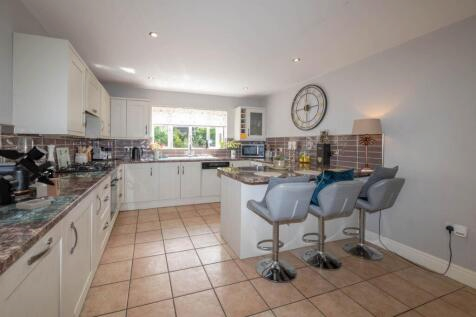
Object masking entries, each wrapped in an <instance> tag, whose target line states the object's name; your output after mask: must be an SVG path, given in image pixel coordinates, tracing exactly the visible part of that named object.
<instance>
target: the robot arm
mask: <svg viewBox="0 0 476 317" xmlns="http://www.w3.org/2000/svg"><path fill="white" fill-rule="evenodd" d="M47 154H48V151H46V149H43V148H42V147H39V146H38V145H34V146H32V148H31V149H30V150H29V151H25V150H24V149H21V148H20V149H19V148H18V149H17V148H16V149H14V148H12V149H11V148H10V149H9V148H7V149H5V148H0V157H1V158H4V159H7V160H11V161H15V160H19V161H15V162H14V163H15V164H14V167H15V168H16V167H20V166H21V167H23V168H24V169H25V170H27V173H28V174H29V173H31V175H30V176H29V177H28V181H29V182H30V183H32V182H35V180H36V179H37V178H38V180H37V181H36V182H40V183H44V185H47V184H48V185H52V186H54V185H55V184H54V183H53V182H52V181H51V180H50V178H56V176H55V173H56V172H57V170H56V169H55V168H54V166H56V164H55V163H56V162H55V161H53V160H47V161H45V162H44V163H38V162H36V161H40V160H42V158H44V157H45V156H46V155H47ZM51 167H52V168H51ZM19 186H20V181H19V180H18V178H17V177H13V176H12V175H10V174H8V175H1V174H0V206H8V205H12V204H14V203H17V202H18V201H17V200H16V194H15V192H16V191H17V188H19Z"/></svg>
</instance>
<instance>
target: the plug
mask: <svg viewBox="0 0 476 317" xmlns="http://www.w3.org/2000/svg"><path fill="white" fill-rule="evenodd" d="M50 180H51V181H52V182H53V183H54V184H55V185H54V186H52V185H48V184H46V185H47V196H46V197H57V196H60V195H61V186H60V185H61V184H60V183H61V182H60V177H55V178H50Z"/></svg>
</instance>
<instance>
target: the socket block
mask: <svg viewBox="0 0 476 317" xmlns="http://www.w3.org/2000/svg"><path fill="white" fill-rule="evenodd" d="M15 205H16V206H15V207H16V209H17V210H18V209H20V210H30V211H32V210H35V209H36V210H37V209H39V208H42V207H43V208H44V207H47V206H51V205H52V200H51V199H42V198H33V199H32V200H27V201H22V202H18V203H17V202H16V204H15Z"/></svg>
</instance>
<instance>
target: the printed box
mask: <svg viewBox="0 0 476 317" xmlns="http://www.w3.org/2000/svg"><path fill="white" fill-rule="evenodd" d="M37 180H38V178H37V179H36V180H35V182H31V185H28V197H29V198H32V199H41V198H44V197H47V184H44V183H40V182H36V181H37Z"/></svg>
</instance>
